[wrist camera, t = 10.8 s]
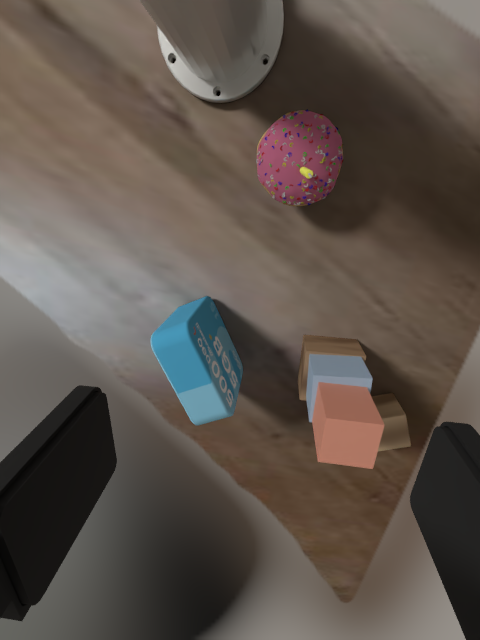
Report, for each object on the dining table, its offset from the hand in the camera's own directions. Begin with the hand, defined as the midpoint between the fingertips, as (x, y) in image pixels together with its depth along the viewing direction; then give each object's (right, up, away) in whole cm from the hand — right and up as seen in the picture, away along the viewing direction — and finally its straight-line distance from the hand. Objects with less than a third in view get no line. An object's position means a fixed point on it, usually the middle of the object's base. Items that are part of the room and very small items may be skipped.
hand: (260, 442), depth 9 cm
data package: (-4, +1, +35) cm, 35 cm away
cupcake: (+6, +21, +26) cm, 34 cm away
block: (+19, -9, +36) cm, 42 cm away
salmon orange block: (+10, -6, +25) cm, 27 cm away
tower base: (+11, -2, +34) cm, 36 cm away
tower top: (+11, -3, +29) cm, 31 cm away
